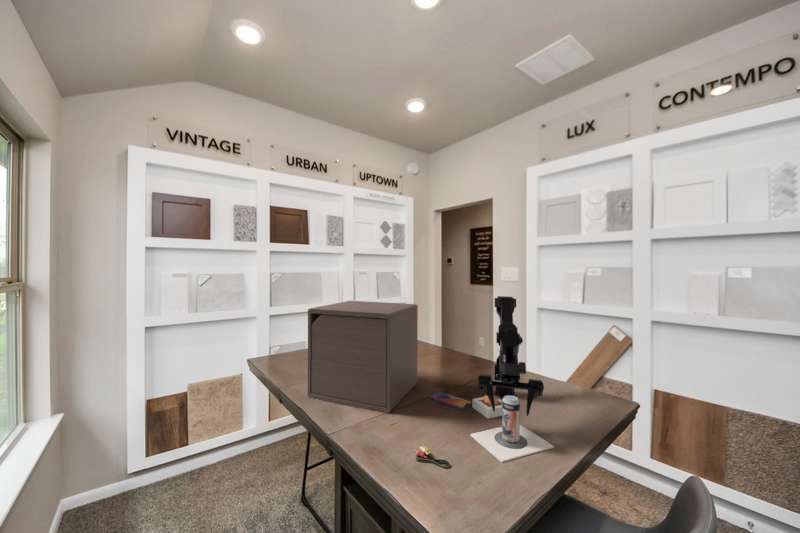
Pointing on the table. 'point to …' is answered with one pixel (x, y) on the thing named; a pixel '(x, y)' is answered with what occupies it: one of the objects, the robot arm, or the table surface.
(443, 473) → the table surface
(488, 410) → the button housing
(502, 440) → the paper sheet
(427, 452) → the composite cable
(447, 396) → the smartphone
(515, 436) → the beer can
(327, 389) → the storage cube
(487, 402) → the button
